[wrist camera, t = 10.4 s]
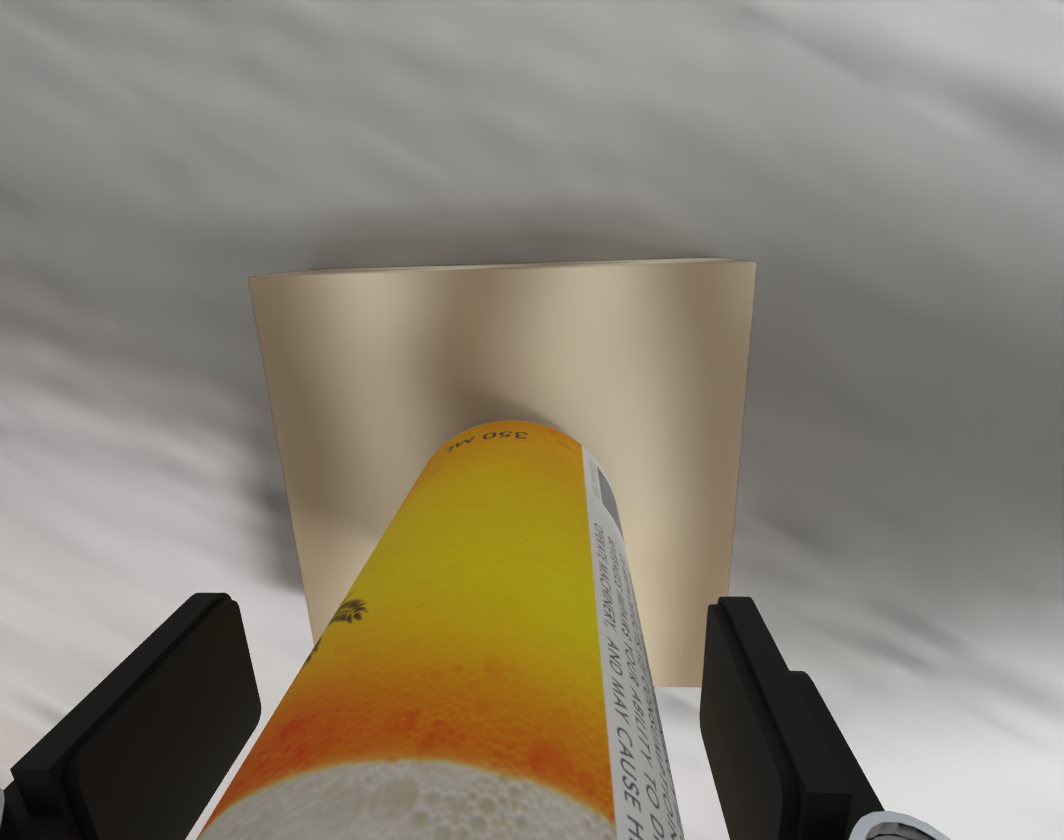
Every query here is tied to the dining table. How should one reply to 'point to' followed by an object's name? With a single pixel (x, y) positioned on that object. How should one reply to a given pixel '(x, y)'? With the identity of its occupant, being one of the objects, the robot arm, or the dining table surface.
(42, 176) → the dining table surface
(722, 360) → the birch plinth
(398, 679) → the beer can
